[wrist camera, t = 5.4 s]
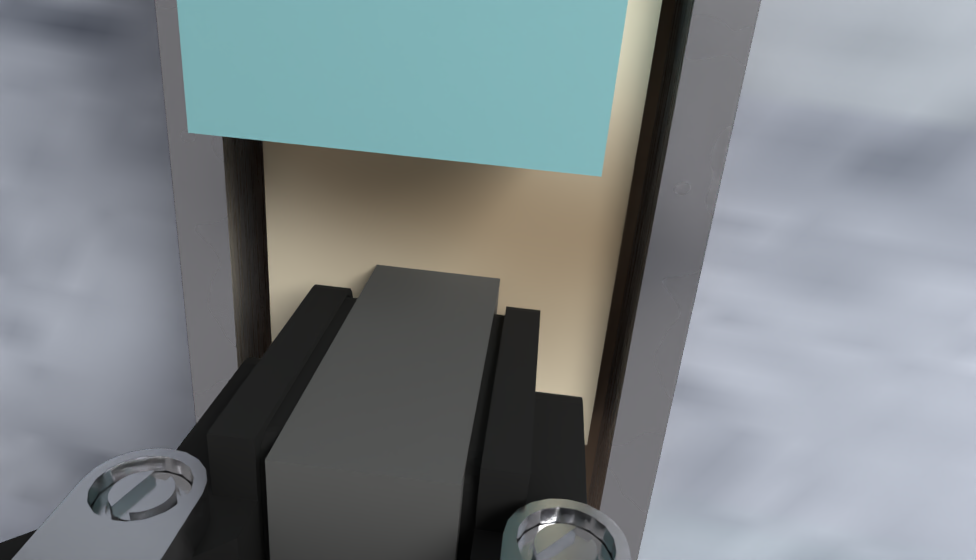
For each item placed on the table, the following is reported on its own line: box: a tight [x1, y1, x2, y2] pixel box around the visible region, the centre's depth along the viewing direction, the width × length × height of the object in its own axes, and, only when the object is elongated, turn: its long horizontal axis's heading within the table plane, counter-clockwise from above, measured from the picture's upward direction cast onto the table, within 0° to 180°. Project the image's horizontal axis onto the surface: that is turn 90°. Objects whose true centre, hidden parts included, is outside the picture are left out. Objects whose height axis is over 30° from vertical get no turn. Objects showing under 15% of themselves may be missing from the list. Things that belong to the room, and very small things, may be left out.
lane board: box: [155, 0, 761, 560], centre depth 13 cm, size 18×8×2 cm, turn 175°
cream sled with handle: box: [263, 0, 662, 560], centre depth 9 cm, size 10×6×6 cm, turn 175°
